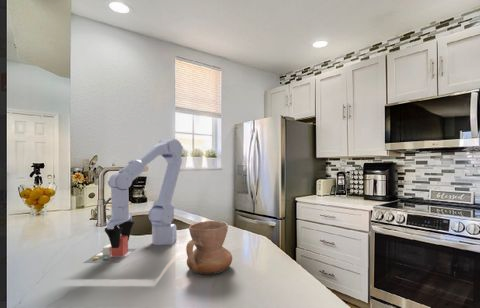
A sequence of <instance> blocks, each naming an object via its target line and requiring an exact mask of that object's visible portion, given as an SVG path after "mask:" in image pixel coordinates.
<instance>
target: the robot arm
mask: <svg viewBox="0 0 480 308" xmlns="http://www.w3.org/2000/svg"><path fill="white" fill-rule="evenodd" d="M183 148H184V147H183V145H182V143H181V142H180V140H178V139H176V138H173V139H165V140H158V142H156V143H155V144H154V145H153V146H152V147H151V148H150V149H149V150H147V152H146V153H145V154H144V155H142V156H141V157H140V158H139V159H133V160H131V159H130V160H129V161H128V164H127V165H125V166H124V167H123V168H120V169H118V172H115V173H113V174H111V175H110V177H109V179H108V181H107V185H108V187H109V188H110V189H111V191H110V193H111V194H110V197H111V204H110V205H111V206H110V207H111V211H110V213H111V218H108V222H107V223H106V227H105V228H104V232H105V234H106V235H107V237H108V240H109V242H110V243H109V244H111V246H112V248H118V247H119V243H120V236H128V242H129V240H130V235H131V232H132V229H133V226H134V224H135V220H133V215H132V214H129V213H130V211H129V210H130V204H129V201H130V200H129V195H130V194H129V193H130V192H129V188H130V187H131V185H132V184H133V181H135V180H136V179H137V178H138V177H139V176H140V175H141V174H143V173H144V172H145V168H146V167H147V165H149V164H150V163H151V162H152V161H154V160H155V159H156V158H158V157H159V156H161V157H162V158H163V159H164V160H165V161H166V162H167V166H166V169H165V174H164V177H163V180H162V185H161V189H160V191H159V195H158V199H157V200H155V201H154V202H153V204H152V207H150V209H149V211H148V216H147V217H148V219H149V221H150V222H151V228H152V229H151V238H152V239H151V243H152V245H153V246H164V245H166V246H167V245H171V246H173V245H174V244H175V243H176V242H177V241H178V239H177V236H178V235H177V233H178V232H177V225H176V224H175V223H172V222H173V221H174V218H175V212H174V211H175V205H174V204H173V202H172V201H173V197H174V193H175V189H176V186H177V181H178V179H179V178H178V177H179V173H180V170H181V166H182V160H183V158H182V151H183V150H184V149H183Z"/></svg>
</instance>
